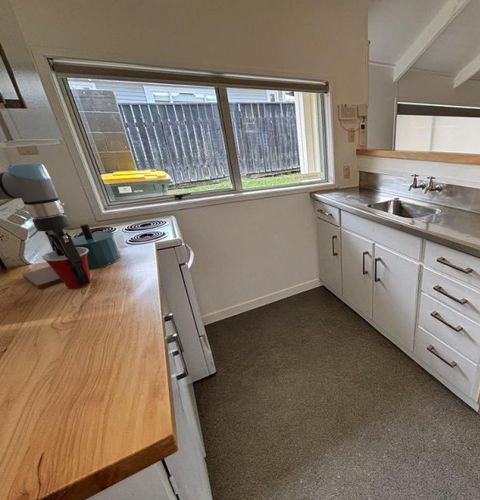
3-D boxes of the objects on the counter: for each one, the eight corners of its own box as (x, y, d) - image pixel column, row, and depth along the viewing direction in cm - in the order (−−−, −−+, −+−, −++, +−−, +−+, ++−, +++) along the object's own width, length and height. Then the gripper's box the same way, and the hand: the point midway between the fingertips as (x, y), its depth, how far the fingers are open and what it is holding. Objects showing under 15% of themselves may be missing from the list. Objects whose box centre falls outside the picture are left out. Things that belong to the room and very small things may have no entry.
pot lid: (54, 249, 102) (46, 232, 100) (84, 236, 116) (77, 220, 113) (97, 246, 103) (90, 229, 101) (122, 233, 117) (116, 218, 114)
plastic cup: (89, 290, 91) (74, 256, 87) (49, 295, 89) (32, 260, 85) (107, 275, 101) (94, 244, 97) (72, 279, 99) (57, 248, 94)
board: (39, 289, 93) (37, 285, 93) (23, 277, 102) (21, 274, 101) (85, 274, 103) (83, 270, 102) (67, 265, 111) (65, 261, 111)
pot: (67, 271, 106) (56, 247, 102) (93, 256, 118) (84, 235, 115) (106, 267, 107) (96, 244, 104) (127, 254, 120) (120, 233, 116)
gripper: (78, 216, 84) (106, 283, 92) (53, 209, 94) (80, 269, 103) (43, 223, 78) (76, 293, 86) (21, 215, 88) (52, 278, 97)
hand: (78, 280), depth 95 cm, fingers open, 9 cm apart
